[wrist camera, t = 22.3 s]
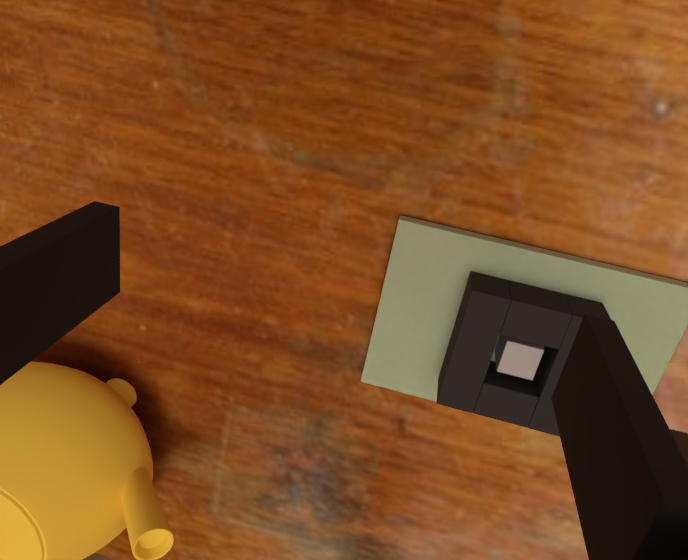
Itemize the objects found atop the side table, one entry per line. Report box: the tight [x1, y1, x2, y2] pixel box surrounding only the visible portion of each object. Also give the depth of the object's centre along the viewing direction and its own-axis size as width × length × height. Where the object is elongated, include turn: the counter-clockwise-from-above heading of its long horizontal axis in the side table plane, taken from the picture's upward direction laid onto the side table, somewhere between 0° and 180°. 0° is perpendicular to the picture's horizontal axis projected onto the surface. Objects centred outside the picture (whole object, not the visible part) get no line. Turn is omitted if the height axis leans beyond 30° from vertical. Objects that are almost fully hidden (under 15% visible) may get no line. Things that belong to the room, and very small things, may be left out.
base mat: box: [361, 215, 688, 402], centre depth 36 cm, size 12×18×4 cm, turn 79°
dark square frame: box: [437, 271, 611, 436], centre depth 35 cm, size 8×8×3 cm
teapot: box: [0, 361, 173, 560], centre depth 41 cm, size 20×16×14 cm
